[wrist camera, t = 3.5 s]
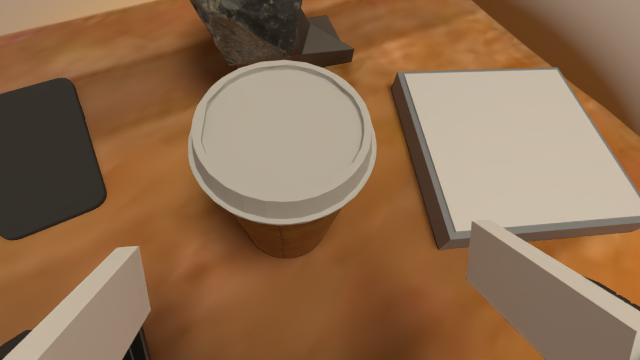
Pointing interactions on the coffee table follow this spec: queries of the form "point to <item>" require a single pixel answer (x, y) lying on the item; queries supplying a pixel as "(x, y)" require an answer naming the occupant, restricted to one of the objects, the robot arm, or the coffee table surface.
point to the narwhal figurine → (270, 32)
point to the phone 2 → (138, 348)
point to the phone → (45, 159)
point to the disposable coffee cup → (282, 151)
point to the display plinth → (511, 156)
